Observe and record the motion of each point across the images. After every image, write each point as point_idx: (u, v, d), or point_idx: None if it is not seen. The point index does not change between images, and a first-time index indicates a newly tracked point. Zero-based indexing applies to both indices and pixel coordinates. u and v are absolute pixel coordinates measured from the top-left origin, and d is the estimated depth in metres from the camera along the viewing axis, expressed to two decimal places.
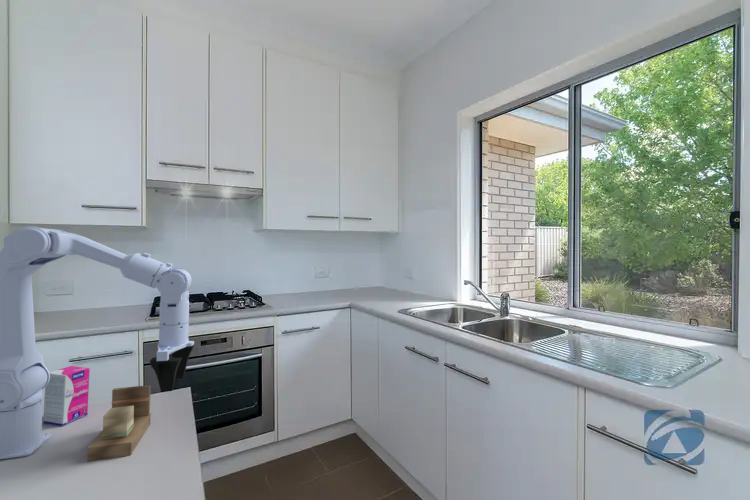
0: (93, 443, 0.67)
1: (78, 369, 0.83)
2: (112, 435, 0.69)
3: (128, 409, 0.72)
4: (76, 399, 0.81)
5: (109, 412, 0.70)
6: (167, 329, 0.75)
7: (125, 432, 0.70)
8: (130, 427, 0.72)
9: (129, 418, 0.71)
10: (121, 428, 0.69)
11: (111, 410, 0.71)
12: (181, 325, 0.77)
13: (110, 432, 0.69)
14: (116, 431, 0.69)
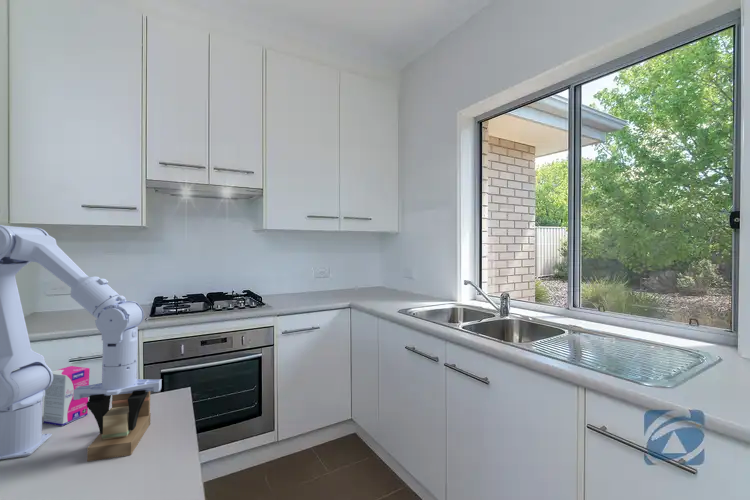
0: (93, 443, 0.67)
1: (78, 369, 0.83)
2: (112, 435, 0.69)
3: (128, 409, 0.72)
4: None
5: (109, 412, 0.70)
6: None
7: (125, 432, 0.70)
8: None
9: None
10: (121, 428, 0.69)
11: (111, 410, 0.71)
12: (104, 367, 0.69)
13: (110, 432, 0.69)
14: (116, 431, 0.69)
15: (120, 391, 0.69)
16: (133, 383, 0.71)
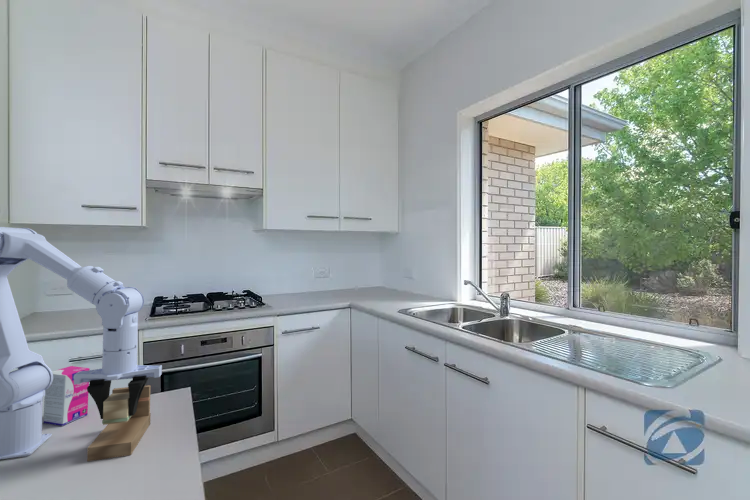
0: (93, 443, 0.67)
1: (78, 369, 0.83)
2: (112, 420, 0.69)
3: (128, 395, 0.72)
4: (76, 399, 0.81)
5: (109, 398, 0.70)
6: None
7: (125, 417, 0.70)
8: None
9: None
10: (121, 413, 0.70)
11: (111, 396, 0.71)
12: (104, 352, 0.69)
13: (110, 417, 0.69)
14: (116, 416, 0.69)
15: (120, 376, 0.69)
16: (133, 368, 0.71)
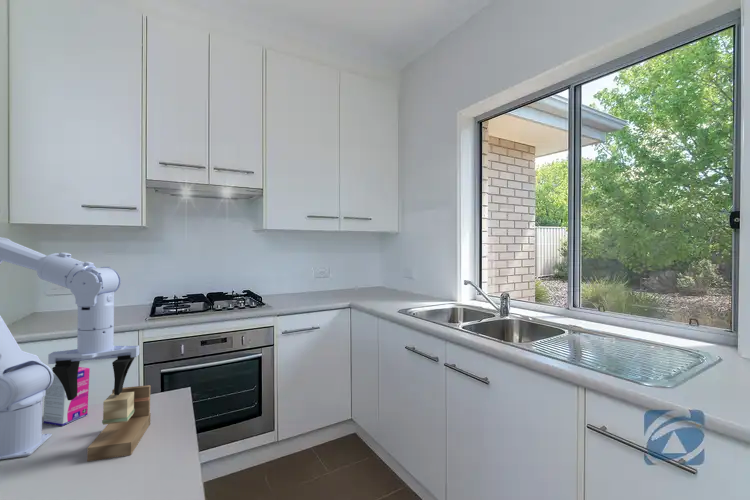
0: (93, 443, 0.67)
1: (78, 369, 0.83)
2: (112, 420, 0.69)
3: (128, 395, 0.72)
4: (76, 399, 0.81)
5: (109, 397, 0.70)
6: None
7: (125, 417, 0.70)
8: (130, 413, 0.72)
9: (129, 404, 0.71)
10: (121, 413, 0.70)
11: (111, 396, 0.71)
12: (79, 331, 0.68)
13: (110, 417, 0.69)
14: (116, 416, 0.69)
15: (96, 355, 0.68)
16: (110, 348, 0.70)
